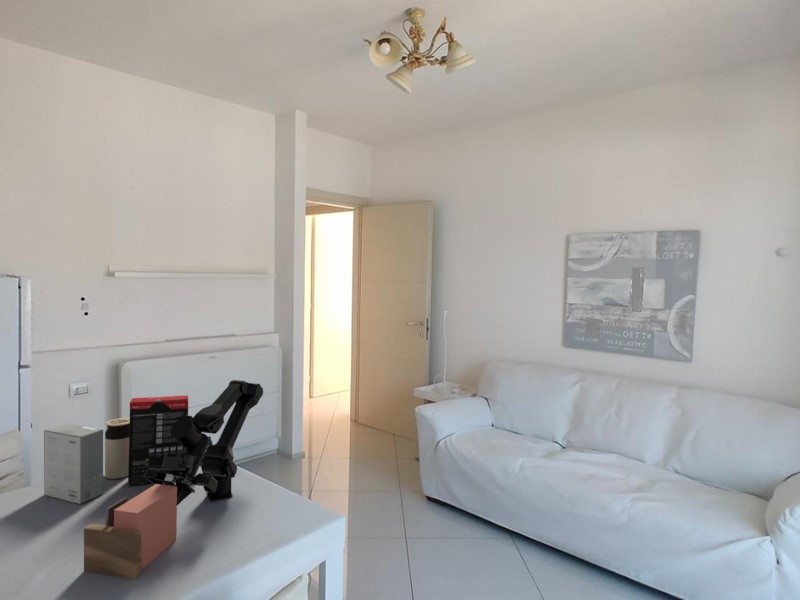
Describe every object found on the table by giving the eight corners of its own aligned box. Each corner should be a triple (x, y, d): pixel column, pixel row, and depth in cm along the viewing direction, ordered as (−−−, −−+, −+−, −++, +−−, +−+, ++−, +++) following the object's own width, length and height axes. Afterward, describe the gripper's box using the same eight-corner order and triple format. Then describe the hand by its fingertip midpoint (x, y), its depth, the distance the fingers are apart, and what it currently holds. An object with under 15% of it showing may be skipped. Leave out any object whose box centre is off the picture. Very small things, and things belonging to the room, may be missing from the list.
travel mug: (132, 477, 158) (133, 423, 157) (104, 481, 154) (104, 426, 153) (132, 468, 164) (133, 416, 164) (105, 472, 161) (105, 419, 160)
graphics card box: (187, 472, 163) (188, 393, 162) (187, 480, 157) (188, 398, 155) (130, 479, 156) (130, 396, 155) (127, 488, 150) (128, 402, 148)
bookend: (110, 551, 116) (111, 494, 116) (127, 553, 116) (127, 497, 115) (90, 565, 111) (90, 506, 110) (108, 568, 110) (108, 509, 109)
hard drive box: (104, 494, 145) (104, 429, 144) (80, 505, 138) (80, 437, 137) (67, 484, 150) (67, 422, 149) (42, 495, 143) (42, 429, 142)
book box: (155, 537, 123) (155, 483, 123) (176, 540, 122) (177, 486, 121) (113, 569, 109) (114, 509, 109) (136, 573, 108) (137, 513, 108)
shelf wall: (91, 565, 111) (91, 523, 110) (141, 574, 108) (141, 531, 108) (83, 571, 109) (83, 528, 108) (134, 579, 106) (134, 535, 106)
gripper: (148, 438, 128) (117, 497, 118) (212, 445, 125) (185, 506, 115) (167, 455, 137) (140, 512, 126) (228, 462, 133) (204, 521, 123)
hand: (166, 513), depth 123 cm, fingers closed, pressing on book box
